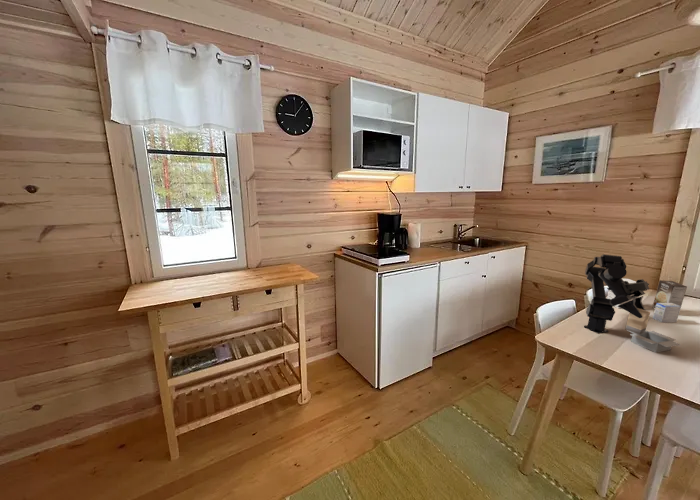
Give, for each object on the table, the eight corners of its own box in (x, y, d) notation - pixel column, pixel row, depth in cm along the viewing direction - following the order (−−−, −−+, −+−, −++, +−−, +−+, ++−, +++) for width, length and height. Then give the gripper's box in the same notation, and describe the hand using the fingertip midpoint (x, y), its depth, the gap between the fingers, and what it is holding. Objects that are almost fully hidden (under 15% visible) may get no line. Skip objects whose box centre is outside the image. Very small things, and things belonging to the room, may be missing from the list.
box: (639, 334, 116) (644, 313, 114) (625, 329, 120) (630, 309, 118) (645, 332, 118) (650, 311, 116) (631, 327, 122) (636, 307, 120)
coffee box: (651, 307, 161) (658, 279, 158) (665, 308, 160) (672, 280, 156) (665, 314, 152) (673, 285, 149) (679, 315, 151) (688, 286, 148)
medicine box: (666, 318, 147) (671, 302, 145) (676, 322, 143) (681, 306, 141) (652, 318, 147) (656, 302, 145) (661, 322, 143) (665, 306, 141)
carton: (658, 356, 113) (661, 347, 112) (619, 339, 126) (621, 330, 125) (682, 352, 116) (685, 343, 115) (642, 335, 129) (644, 327, 128)
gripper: (626, 275, 113) (659, 312, 106) (643, 270, 122) (674, 304, 115) (597, 288, 121) (626, 323, 114) (615, 283, 130) (643, 315, 123)
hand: (643, 316), depth 116 cm, fingers closed on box, 5 cm apart
